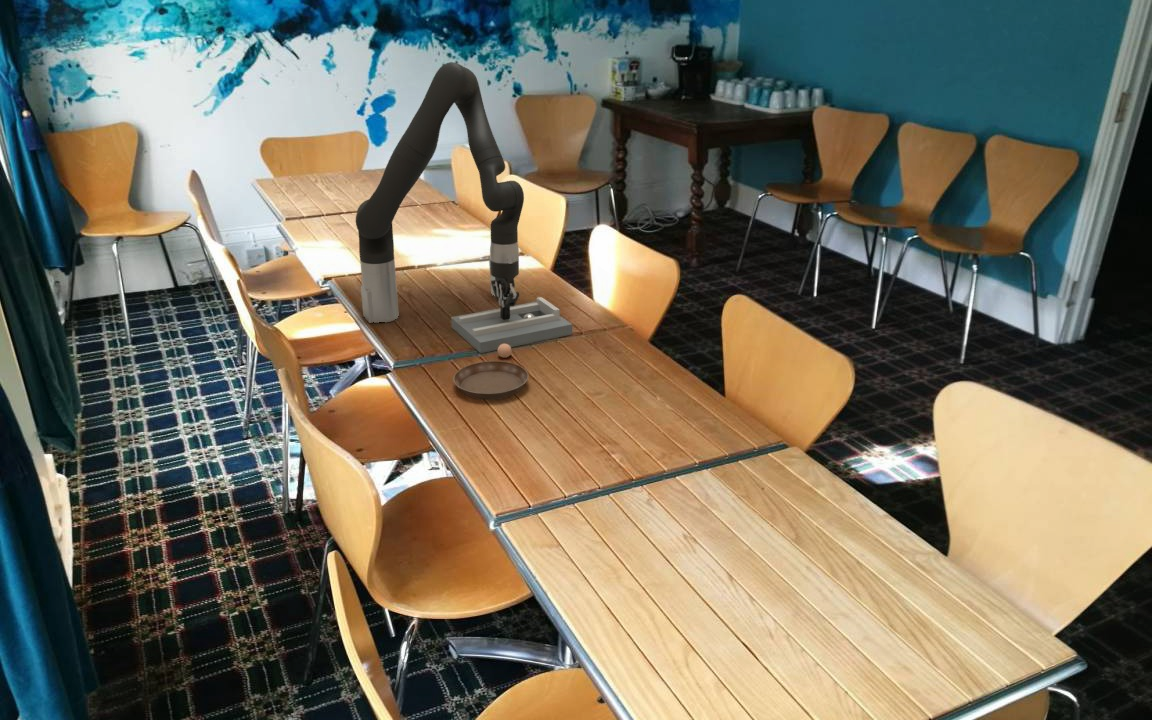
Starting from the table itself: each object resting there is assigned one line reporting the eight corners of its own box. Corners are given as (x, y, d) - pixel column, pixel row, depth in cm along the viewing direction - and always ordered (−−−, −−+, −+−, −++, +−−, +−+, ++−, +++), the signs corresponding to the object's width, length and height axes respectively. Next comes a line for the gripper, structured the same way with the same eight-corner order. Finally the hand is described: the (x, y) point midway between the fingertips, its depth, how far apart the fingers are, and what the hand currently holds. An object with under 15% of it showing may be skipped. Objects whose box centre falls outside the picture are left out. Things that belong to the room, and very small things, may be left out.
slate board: (480, 353, 227) (479, 331, 224) (451, 327, 243) (450, 306, 240) (572, 334, 239) (572, 313, 236) (538, 310, 255) (538, 291, 252)
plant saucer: (459, 408, 200) (459, 396, 198) (449, 375, 215) (448, 364, 214) (535, 399, 204) (535, 388, 203) (520, 368, 219) (520, 357, 218)
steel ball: (532, 332, 242) (523, 324, 240) (525, 327, 245) (517, 319, 243) (541, 321, 242) (533, 313, 240) (535, 316, 245) (526, 308, 243)
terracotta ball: (501, 361, 223) (500, 347, 221) (495, 355, 226) (494, 342, 224) (514, 358, 224) (513, 345, 223) (508, 353, 227) (507, 340, 226)
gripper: (481, 252, 235) (482, 313, 243) (502, 266, 225) (503, 329, 232) (506, 249, 239) (507, 308, 246) (528, 262, 228) (528, 324, 236)
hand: (505, 318), depth 239 cm, fingers closed
